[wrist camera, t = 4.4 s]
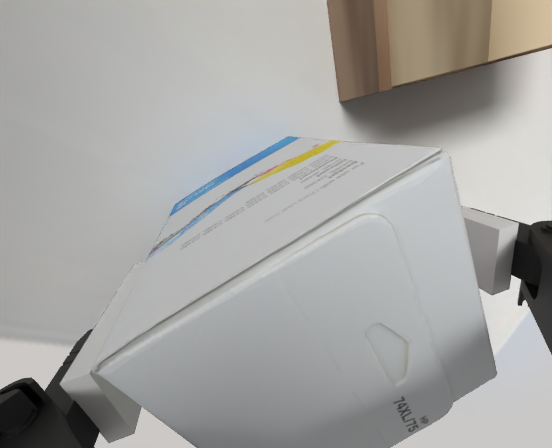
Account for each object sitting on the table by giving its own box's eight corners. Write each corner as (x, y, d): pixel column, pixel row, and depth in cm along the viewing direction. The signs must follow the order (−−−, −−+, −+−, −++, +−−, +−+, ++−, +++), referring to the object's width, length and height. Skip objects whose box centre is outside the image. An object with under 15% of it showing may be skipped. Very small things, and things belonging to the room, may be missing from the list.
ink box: (170, 204, 15) (66, 371, 5) (292, 132, 15) (465, 132, 5) (244, 299, 19) (282, 525, 8) (342, 240, 19) (510, 382, 8)
